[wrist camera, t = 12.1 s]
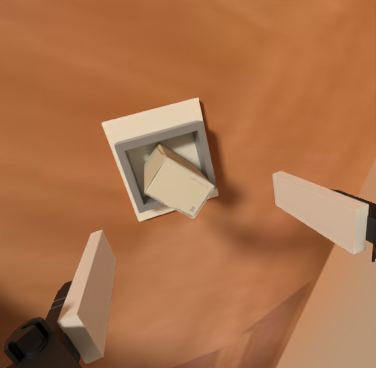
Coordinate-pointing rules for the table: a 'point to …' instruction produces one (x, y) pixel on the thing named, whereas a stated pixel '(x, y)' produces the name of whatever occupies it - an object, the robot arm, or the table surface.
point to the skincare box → (175, 181)
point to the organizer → (146, 141)
